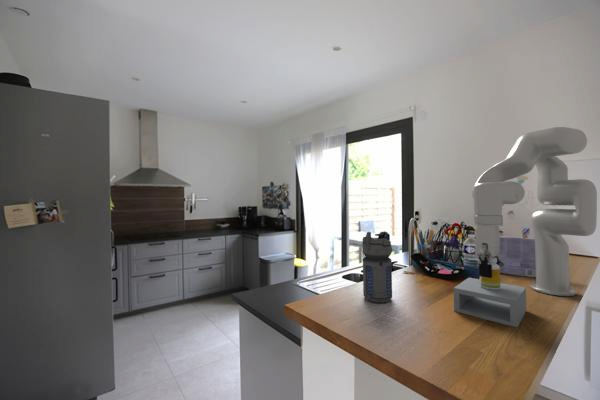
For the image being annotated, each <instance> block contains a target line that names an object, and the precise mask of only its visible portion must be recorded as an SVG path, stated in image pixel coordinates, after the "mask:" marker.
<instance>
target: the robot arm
mask: <svg viewBox="0 0 600 400" xmlns="http://www.w3.org/2000/svg"><path fill="white" fill-rule="evenodd" d="M587 145H588V139H587V135H586V134H585V132H583V130H581V129H578V128H573V127H567V126H564V127H563V126H556V127H550V128H545V129H539V130H534V131H529V132H526V133H523V134H522V135H521V136H519V137H518V138H517V139H516V141H515V143H513V146H512V147H511V150H510V151H509V153H508V154H507V156H506V157H505V159H503V160H501V161H500V162H498V163H496V164H494V165H493V166H491V167H490V168H488V169H486V171H484V172H483V173H482V174H481V175H479V178H478V179H477V180H476V182H475V183H474V185H473V188H472V193H471V194H472V198H473V216H474V218H473V221H474V222H473V223H474V224H473V225H475V226H476V229H475V249H474V250H475V256H477V257H478V259H479V260H478V271H479V272H478V274H479V277H480V276H481V277H487V278H492V265H490V264H491V258H493V257H496V258H497V263H496V264H497V265H499V255H498V254H499V253H500V227H503V226H504V221H503V219H504V218H503V217H504V216H503V215H504V213H503V205H515V204H517V203H520V202H521V201H522V200H523V199H524V197H525V194H526V193H525V192H526V191H525V188H524V186H523V185H522V184H521V183H519V182H516V181H513V179H516V178H519V177H521V176H523V175H527V174H528V173H530V172H531V171H532V170H533V169H534V167H536V169H537V188H536V189H537V192H536V193H537V194H536V195H537V200H538V202H539V203H540V204H542V205H545V206H574V207H575V209H567V208H541V209H538V210H536V211H534V212H533V213H532V215H531V217H530V222H531V226H532V230H533V235H534V239H535V262H536V278H535V282H534V283H531V284H530V288H531V289H532V290H533V291H536V292H538V293H542V294H546V295H552V296H559V297H575V296H576V295H577V291H576V290H575V289H573V288H571V285H570V284H571V283H570V282H571V281H570V280H571V279H570V278H571V277H570V276H571V273H570V247H569V244H568V243H567V241H566V240H565V238H563V236H576V237H577V236H578V237H588V236H591V235H593V234H594V233H595V232H596V229H597V215H598V214H597V211H598V210H597V209H598V208H597V207H598V192H597V188H596V186H595V184H594V182H593V181H591V180H589V179H586V178H585V179H581V178H580V179H577V178H576V179H569V178H568V177H569V176H568V175H569V172H568V171H569V168H568V166H567V164H566V163H565V162H564V161H563V160H562V159H560V158H559V156H565V155H567V156H568V155H574V154H578V153H579V154H580V153H582V151H584V150H585V149H586V147H587ZM487 258H488V259H487Z"/></svg>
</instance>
